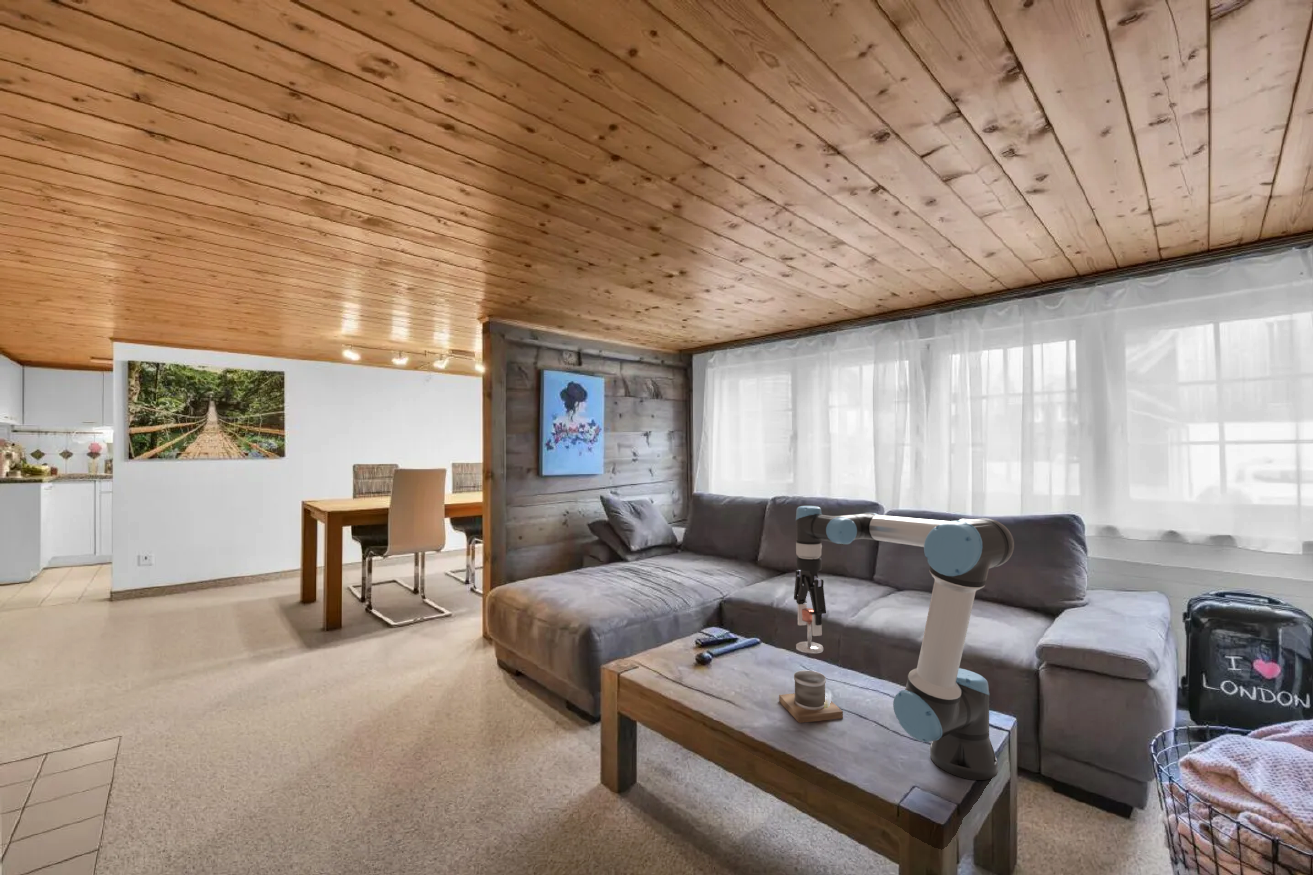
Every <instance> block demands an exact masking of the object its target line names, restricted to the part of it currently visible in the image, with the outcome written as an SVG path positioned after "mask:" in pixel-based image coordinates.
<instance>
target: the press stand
mask: <svg viewBox="0 0 1313 875" xmlns="http://www.w3.org/2000/svg"><path fill="white" fill-rule="evenodd" d="M793 678H794V693H783V694H779V695H778V702H779V703H780V704H781V705H782V706H783V707H784V708H785V709H786V711H788V713H789V714H790V715H791V716H792V717H793V718H794V719H795V720H796V722H798V723H799V724H801V723H811V722H819V721H829V720H837V719H844V711H843V710H842V709H841V708H839V706H837V704H835V703H834V702H833V701H832V700H831V703H830V706H829V707H828V708H824V706H825V705H824V702H825V696H826V683H827V681H826V680H827V679H826V676H825V675H824V674H823V673H821V672H818V671H814V670H810V669H809V670H806V669H805V670H798V671H795V673H794V674H793Z"/></svg>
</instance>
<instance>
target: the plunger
mask: <svg viewBox="0 0 1313 875" xmlns="http://www.w3.org/2000/svg"><path fill="white" fill-rule="evenodd" d="M812 612H814V611H813V607H812V608H811V607H807V608H804V609H802V620H803V621H805V622H807V625H806V626H807V630H806V631H807V634H806V635H807V637H806V638H807V641H799V642H797V643H796V644H795V647H796V648H795V649H796V651H798V652H801V653H805V654H809V655H811V654H812V655H813V654H814V655H816V654H820V653H823V651H824V647H823V645H822V644H820V643H817V642H814V641H812V639H813V637H812V636H813V635H812Z"/></svg>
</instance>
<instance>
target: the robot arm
mask: <svg viewBox="0 0 1313 875" xmlns="http://www.w3.org/2000/svg"><path fill="white" fill-rule="evenodd" d="M795 530H796V531H795V533H796V536H795V537H796V539H795V540H796V541H795V551H796V552H795V553H796V558H795V559H796V562H795V565H796V570H795V582H794V592H793V600H794V601H796V604H797V626H807V622H805V621H803V620H802V609H804V608H808V606H807V603H808V601H807V596H808V593H809V597H810V600H811V606H812V609H813V611H814V612H812V622H811V634H812V636H813V637H817V636H818V637H820V636H822V635H823V621H822V620H823V619H822V618H823V615H824V614H826V613H827V607H826V606H827V605H826V599H825V590H824V583H825V582H824V579H823V578H821V579H820V578H819V576H818V575H819V574H818V573H819V571H821V570H822V568H823V567H822V565H823V563H822V562H823V561H822V558H821V556H822V548H823V545H822V542H823V541H825V542H829V543H834V544H837V545H840V544H841V545H842V544H843V545H850V544H851V543H852V542H853V541H856V540H869V541H870V540H871V541H881V542H886V543H887V542H888V543H894V544H903V545H909V546H914V547H921V548H923V552H924V557H925V558H927V560H926V561H927V564H928V565H929V573H930V575H931V577H932V578H933V579H934V583H933V585H932V592H931V596H930V603H929V607H928V612H927V616H926V622H925V626H924V631H923V632H924V633H923V637H922V643H921V646H920V652H919V657H918V660H917V666H916V668H913V669H912V670H910V671H909V673H908V674H907V681H906V684H905V689H902V690H900V691H898V692H897V693H896V694H895V696H894V698H893V701H892V702H893V703H892V705H893V706H892V707H893V712H894V715H895V717H896V719H897V720H898V723H899V725H900V727H901V728H902V729H903V730H904V732H905V733H907V735H908V736H910V737H912V738H913V739H915V740H916V741H919V742H923V743H930V742H931V744H930V746H929V754H930V755H929V756H930V759H931V761H932V762H933V763H934V764H935V765H936V766H937V767H938V768H940V769H941V770H943V771H945V772H946V773H949V774H951V775H953V776H956V777H960V778H963V779H967V780H973V781H975V780H976V781H986V780H992V779H994V778H995V777H997V775H998V773H999V763H998V762H999V761H998V759H997V756H996V754H995V753H996V752H995V749H994V748H993V744H992V741H991V739H990V695H991V694H990V691H989V690H990V688H989V682H988V680H987V679H986V678H985V677H984V676H983V675H981V674H979V673H977V672H974V671H971V670H969V669H965V668H961V667H960V665H961V660H962V656H963V652H964V647H965V643H966V639H967V638H966V637H967V634H968V633H967V632H968V628H969V624H970V619H971V615H972V610H973V605H974V603H975V602H974V601H975V596H976V592H977V591H979V590H981V589H983V588H985V586H986V584H987V583H986V582H987V579H988V574H989V569H993V568H996V567H997V568H998V567H1000V566H1003V565H1004V564H1005V563H1006V562H1008V561H1009V560H1010V558H1011V557H1012V555H1013V552H1014V549H1015V540H1014V537H1013V535H1012V533H1011V532H1010V530H1009V528H1007V526H1005V525H1004V524H1002V523H1001V522H999V521H998V520H995V519H991V518H985V517H983V518H982V517H981V518H974V519H973V518H961V519H959V520H951V521H950V520H939V519H928V518H916V517H908V516H895V515H894V516H893V515H885V514H884V515H883V514H878V513H876V512H863V513H855V514H844V515H828V514H827V515H825V514H823V513H822V509H821V507H819V506H817V505H801V506H798V507H797V508H796V514H795Z"/></svg>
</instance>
